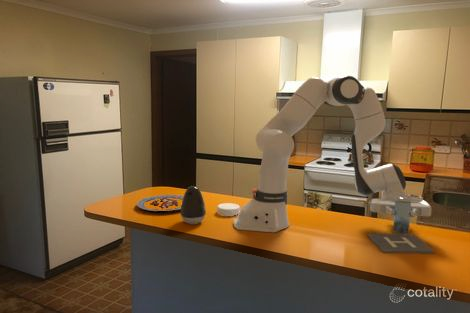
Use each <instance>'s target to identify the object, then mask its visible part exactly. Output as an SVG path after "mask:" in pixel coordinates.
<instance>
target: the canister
mask: <svg viewBox="0 0 470 313" xmlns="http://www.w3.org/2000/svg"><path fill="white" fill-rule="evenodd" d="M410 211H411V198H410V197H406V196H396V197H395V215H393V225H392V226H393V228H392V229H393V230H392V231H393V232H395V233H396V234H408V233H410V221H411V217H410Z"/></svg>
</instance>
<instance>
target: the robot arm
mask: <svg viewBox="0 0 470 313" xmlns="http://www.w3.org/2000/svg"><path fill="white" fill-rule="evenodd" d="M323 104H324V105H325V104H326V105H328V106H331V107H342V106H343V107H344V106H347V107H349V109H350V110H351V112H352V115H353V118H354V123H355V127H354V132H352V133H351V136H350V142H351V143H350V144H351V154H352V155H351V156H352V163H353V170H354V178H353V179H354V186H355V189H356V191H357V193H359V194H361V195H363V196H370V195H373V194H375V193H378V192H381V198H374V197H373V198H372V199H370V200H368V202H367V203H368V205H369V206H370V207H369V208H370V209H369V210H370V212H372V213H380V214H389V215H390V216H394V215H395V197H396V196H406V197H410V198H411V211H410V218H415V217H431V215H432V206H431V205H430V203H429V202H427V201H426V200H424V198H423V196H420V195H417V194H416V195H415V194H410V193H407V192H405V190H406V186H407V182H406V181H407V180H406V177H405V176H404V173H403V172H402V170H401V168H400V167H399V166H398V165H397V164H394V163H387V164H384V165H381V166H378V167H374V168H370V169H365V164H364V163H365V162H364V155H363V151H364V148H365V147H366V145H367V144H369V143H370V142H371V141H373V140H374V139H375V138H377V137H378V136H379V135H380V134H381V133H382V132H383V131H384V129H385V127H386V117H385V113H384V112H385V111H384V110H383V106H382V104H381V102H380V98H379V97H378V95H377V93H376V91H375V90H374V89H373V88H372V87H368V86H363V85H362V84H361V83H360V81H359V80H358V79H357V78H356V77H354V76H352V75H342V76H338V77H335V78H332V79H330V80H328V81H324V80H323V79H322V78H320V77H317V76H316V77H315V76H312V77H310V78H307V79H306V80H305V81H304V83H302V84H301V85H300V86H299V87H298V89H297V90H295V92H294V93H293V94H292V95H291V97H290V98H289V100H288V101H287V102H286V103H285V104H284V105H283V107H282V108H281V109H280V110H279V111H278V112H277V113H276V114H275V115H274V116H273V117H272V118H271V119H270V120H269V121H268V122H267V123H266V124H265V125H264V126H263V128H261V129H259V131H257V133H256V136H255V143H256V147H257V149H258V150H259V151H261V152H262V158H261V163H260V167H259V170H258V188H252V190H251V193H252V195H253V196H252V197H253V198H252V199H251V200H250V201H248V202H247V203H245V204H244V205H242V207H240V213H239V214H238V215H237V216H236V217H234V219H233V227H234V228H235V229H237V230H241V231H252V232H253V231H254V232H262V233H264V232H266V233H277V232H279V231H280V230H284V229H287V228H289V227H290V222H289V218H288V210H287V204H288V195H289V193H288V190H287V184H288V183H287V180H288V170H289V163H290V160H291V155H292V153H293V151H294V149H295V142H294V139H293V136H294V135H295V134H296V133H298V132H299V131H300V130H302V129H303V128H304V127H305V126H306V125H307V123H309V121H310V120H311V119H312V117H313V116H314V115H315V113H316V112H317V110H318V109H319V107H320V106H322V105H323Z"/></svg>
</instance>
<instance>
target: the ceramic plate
mask: <svg viewBox="0 0 470 313" xmlns="http://www.w3.org/2000/svg"><path fill="white" fill-rule="evenodd" d="M183 197H184V195H177V194H161V195H160V194H159V195H153V196H147V197H144V198H142V199H140V200H139V201H137V202H136V205H137V207H138V208H140V209H142V210H146V211H150V212H151V211H152V212H157V211H168V212H173V210H175V211H178V210H181V207H179V208H175V209H166V210H158V209H149V208H146V207H145V206H144V203H146V202H148V201H151V200H155V199H160V200H161V201H160V202H163V203H162V204H161V206H159V207H161V208H162V209H163V208H168V207H169V206H173V205H175V206H177V207H178V205H180V204H178V201H177V200H173V199H180V200H183ZM167 198H173V199H167ZM158 201H159V200H157V201H156V200H155V201H153V202H152V203H150V205H154V206H158V205H159V204H160V203H159V202H158Z"/></svg>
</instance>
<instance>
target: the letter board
mask: <svg viewBox="0 0 470 313" xmlns="http://www.w3.org/2000/svg"><path fill="white" fill-rule="evenodd" d="M367 237H368V238H369V239H370V240H371V241H372V243H374V244H375V246H376V247H377V248H378V249H379V250H380V251H381V253H383V254H385V253H386V254H433V255H434V254H435V253H436V251H435V250H434V249H433V248H431V247H430V246H429V245H427V244H426V243H425V242H424V241H423V240H421V239H420V238H419V237H418V236H416V235H415V234H411V233H410V234H408V233H406V234H402V233H395V234H394V233H368V234H367Z"/></svg>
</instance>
